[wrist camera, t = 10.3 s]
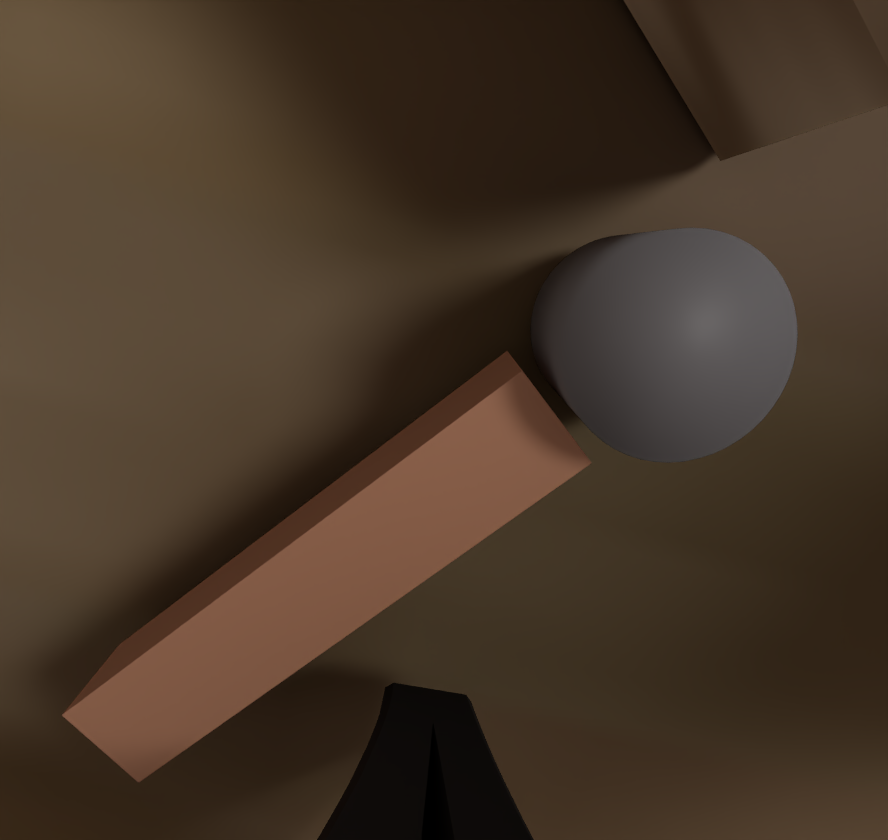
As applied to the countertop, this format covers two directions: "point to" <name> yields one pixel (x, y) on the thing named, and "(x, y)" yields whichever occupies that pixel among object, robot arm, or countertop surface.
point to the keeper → (464, 476)
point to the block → (769, 63)
